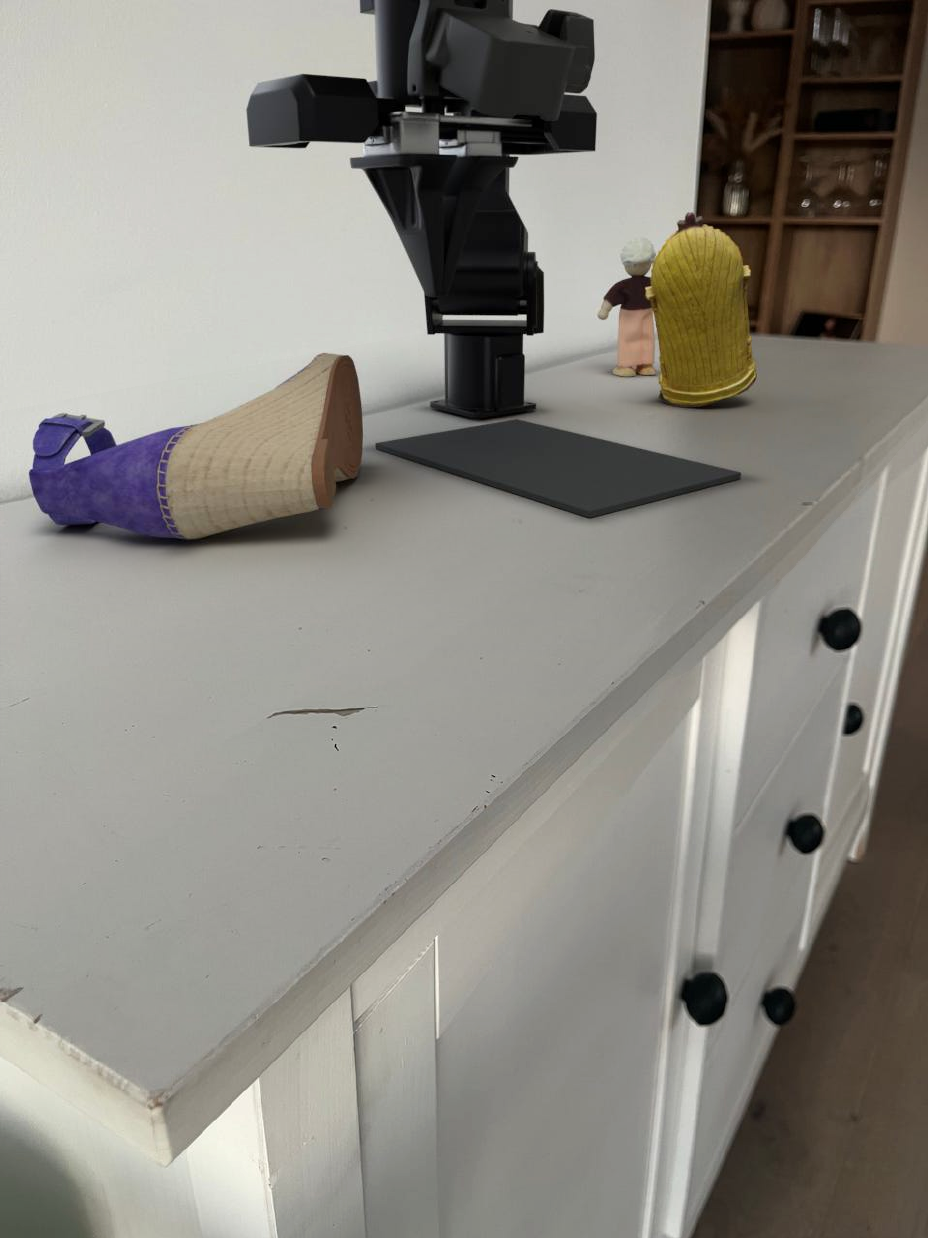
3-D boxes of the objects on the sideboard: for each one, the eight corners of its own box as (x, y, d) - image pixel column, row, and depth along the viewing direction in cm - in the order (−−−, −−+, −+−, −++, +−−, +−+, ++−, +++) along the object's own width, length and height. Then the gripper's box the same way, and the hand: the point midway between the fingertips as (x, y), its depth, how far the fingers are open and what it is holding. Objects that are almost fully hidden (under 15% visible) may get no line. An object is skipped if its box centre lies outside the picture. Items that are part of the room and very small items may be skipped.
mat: (375, 448, 67) (375, 442, 67) (516, 423, 75) (516, 418, 74) (589, 518, 52) (590, 511, 52) (740, 478, 59) (741, 472, 59)
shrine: (725, 423, 75) (747, 211, 69) (626, 413, 78) (638, 212, 72) (763, 398, 84) (784, 210, 78) (672, 391, 88) (686, 210, 82)
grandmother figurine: (651, 368, 100) (660, 236, 95) (673, 373, 96) (684, 236, 91) (587, 374, 97) (592, 237, 92) (608, 379, 93) (615, 238, 88)
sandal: (351, 313, 61) (116, 328, 61) (315, 445, 44) (-7, 465, 45) (367, 434, 65) (147, 447, 66) (339, 593, 49) (47, 610, 49)
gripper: (355, -112, 36) (373, 321, 43) (684, -44, 47) (660, 295, 53) (227, -54, 44) (257, 303, 51) (532, -7, 55) (526, 284, 61)
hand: (436, 296), depth 54 cm, fingers closed
